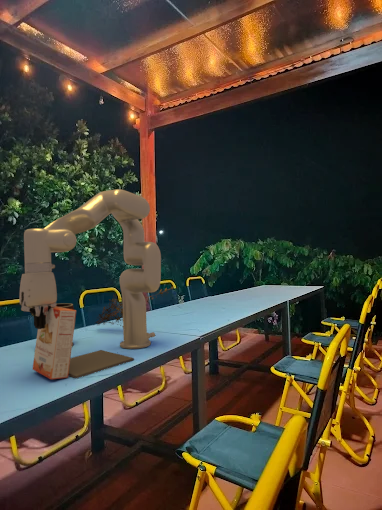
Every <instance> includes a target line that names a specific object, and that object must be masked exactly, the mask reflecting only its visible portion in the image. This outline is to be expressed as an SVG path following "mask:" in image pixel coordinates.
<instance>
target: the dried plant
mask: <svg viewBox="0 0 382 510" xmlns="http://www.w3.org/2000/svg"><path fill="white" fill-rule="evenodd" d="M173 289H174V287H173V286H171V288H169V289H167V287H166V288H165V289H164V290H163V289H162V288H161V289H160V291H159V292H158V293H156V294H155V295H154V294H153V295H150V296H147V297H146V299H147V300H146V303H148V304H150V302H149V301H150V300H151V301H152V302H153V300H154V296H155V298H156V299H157V295H159V294H160V295H161V297H162V298H163V297H164V296H163V295H164V293H168V291H169V290H172V291H173ZM176 289H179V288H178V286H176ZM162 290H163V291H162ZM112 295H113V298H112V300H111V299H108V300H109V302H108V303H109V304H107V305H108V306H107V305H106V306H103V308H102V310H103V311H102V312H101V314H100V313H98V316H97V317H96V319H98V320H97V321H95V324H96V326H99V325H103V324H110V325H116V324H117V326H119V325H120V327H122V324H120V323H122V319H123V299H122V297H121V296H119V297H118V298H120V299H116V297H117V294H115V295H114V294H112ZM149 298H151V299H149ZM153 303H154V302H153ZM147 306H148V305H147V304H146V307H147ZM110 320H112V321H110Z"/></svg>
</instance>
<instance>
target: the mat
mask: <svg viewBox="0 0 382 510" xmlns="http://www.w3.org/2000/svg"><path fill="white" fill-rule="evenodd" d="M132 361H135V359H134V357H131V356H127V355H123V354H119V353H114V352H111V351H106V350H103V349H100V350H99V349H98V350H95V351H92V352H88V353H85V354H81V355H77V356H73V357H71V358H70V365H69V374H68V377H71V378H74V379H76V378H77V379H79V377H80V378H83V377H86V376H88V375H89V376H90V375H93V374H95V372H96V373H98V371H99V372H101V370H102V371H104V369H105V370H108V369H111V368H113V367H116V366H117V367H118V366H120V365H124V364H127V363H130V362H132ZM126 362H127V363H126ZM123 363H124V364H123ZM119 364H120V365H119ZM82 376H83V377H82Z"/></svg>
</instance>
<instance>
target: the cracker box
mask: <svg viewBox="0 0 382 510" xmlns="http://www.w3.org/2000/svg"><path fill="white" fill-rule="evenodd" d="M76 316H77V310H76V309H74V310H72V309H67V308H62V307H57V306H56V307H52V308H50V310H49V311H48V312H47V315H46V325H45V328H42V329H37V334H36V341H35V348H34V355H33V363H32V370H33V371H35V372H36V373H38V374H40V375H42V376H44V377H46V378H47V379H49V380H57V379H60V380H61V379H68V378H69V376H68V374H69V365H70V358H72V357H71V355H72V347H73V346H72V342H73V341H74V332H75V325H76V318H77V317H76ZM73 343H74V342H73Z"/></svg>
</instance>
